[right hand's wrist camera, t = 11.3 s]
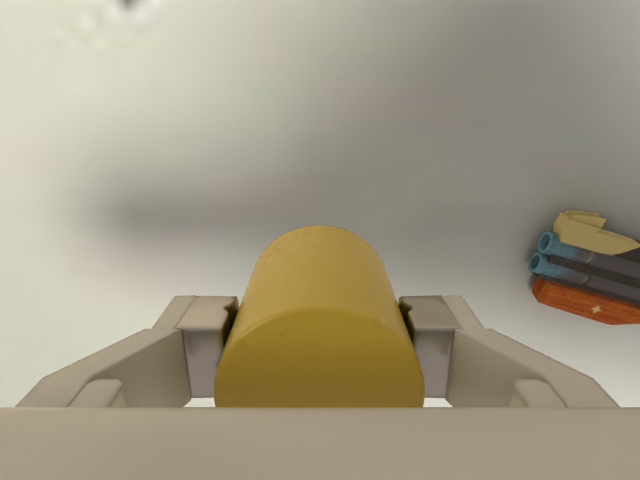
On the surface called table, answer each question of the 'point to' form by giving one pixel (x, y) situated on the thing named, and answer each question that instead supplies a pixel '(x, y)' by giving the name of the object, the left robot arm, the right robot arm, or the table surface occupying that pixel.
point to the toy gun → (588, 269)
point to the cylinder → (319, 330)
